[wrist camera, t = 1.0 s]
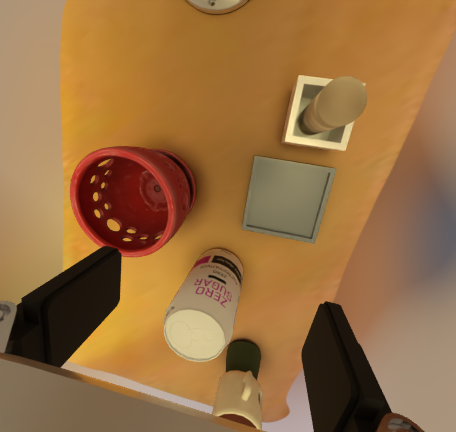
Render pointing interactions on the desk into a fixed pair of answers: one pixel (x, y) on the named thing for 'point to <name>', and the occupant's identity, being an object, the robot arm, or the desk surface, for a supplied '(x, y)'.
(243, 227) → the tray
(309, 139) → the white open square box
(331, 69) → the desk surface
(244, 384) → the character mug
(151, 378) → the desk surface
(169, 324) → the supplement can
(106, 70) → the desk surface
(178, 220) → the plant pot
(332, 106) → the dowel
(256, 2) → the desk surface
